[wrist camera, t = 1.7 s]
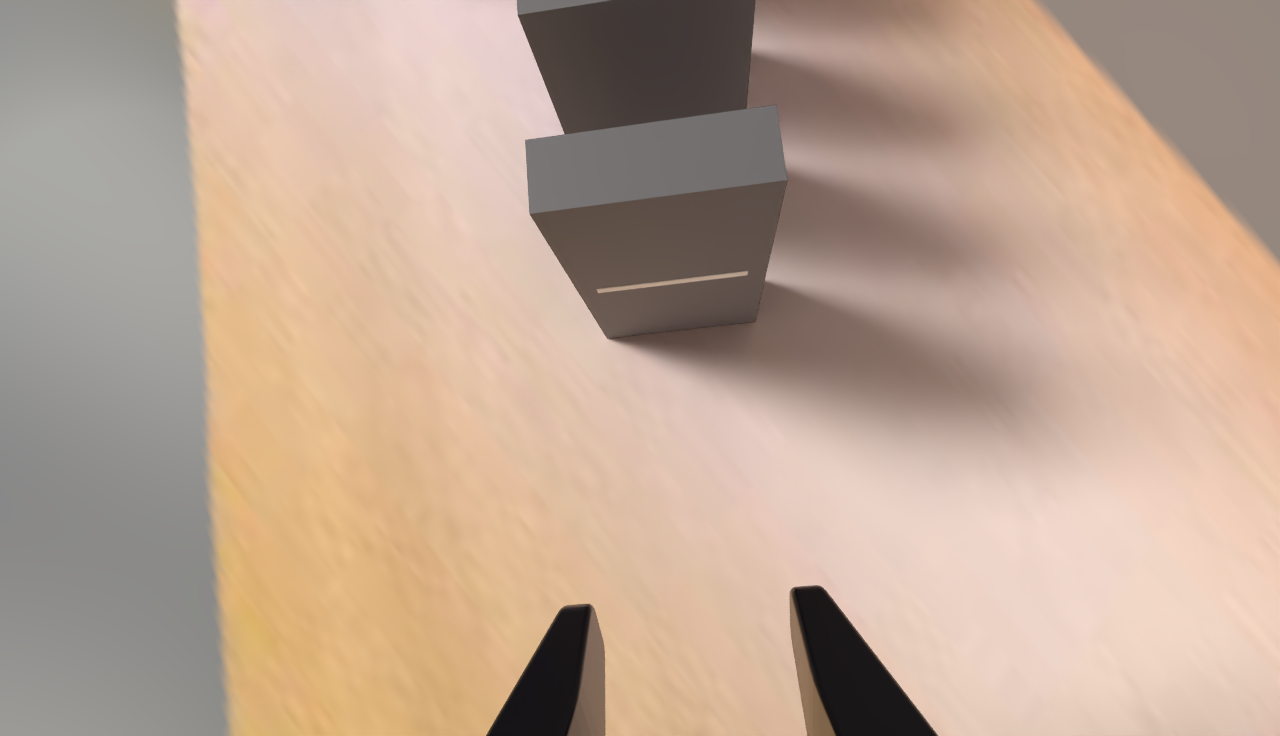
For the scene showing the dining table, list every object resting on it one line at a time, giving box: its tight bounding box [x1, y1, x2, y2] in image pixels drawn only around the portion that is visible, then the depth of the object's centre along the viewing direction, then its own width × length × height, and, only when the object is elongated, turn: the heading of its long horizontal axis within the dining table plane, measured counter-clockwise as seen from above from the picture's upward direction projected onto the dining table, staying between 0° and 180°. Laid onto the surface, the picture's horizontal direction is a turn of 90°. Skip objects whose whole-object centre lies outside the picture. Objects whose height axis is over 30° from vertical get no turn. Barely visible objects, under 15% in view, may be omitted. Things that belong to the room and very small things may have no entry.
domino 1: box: [517, 0, 755, 134], centre depth 19 cm, size 2×5×10 cm, turn 95°
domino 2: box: [525, 105, 787, 339], centre depth 18 cm, size 2×5×10 cm, turn 95°
